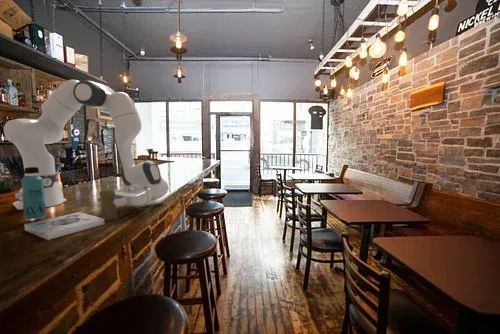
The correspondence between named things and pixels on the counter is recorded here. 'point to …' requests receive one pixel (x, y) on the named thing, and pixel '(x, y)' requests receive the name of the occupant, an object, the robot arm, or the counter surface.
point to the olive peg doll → (108, 204)
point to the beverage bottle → (33, 195)
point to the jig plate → (56, 229)
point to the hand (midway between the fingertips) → (105, 201)
